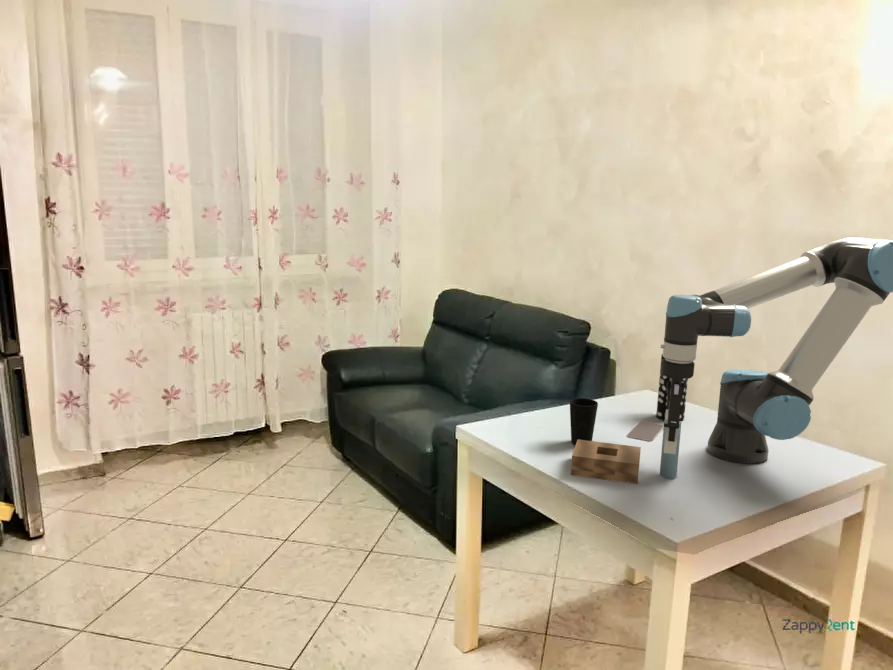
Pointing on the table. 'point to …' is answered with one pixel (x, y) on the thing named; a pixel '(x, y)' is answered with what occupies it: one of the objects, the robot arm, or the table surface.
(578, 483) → the table surface
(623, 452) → the bore block
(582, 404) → the cup
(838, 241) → the robot arm
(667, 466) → the pin
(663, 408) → the white-spotted black cylinder
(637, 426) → the smartphone
